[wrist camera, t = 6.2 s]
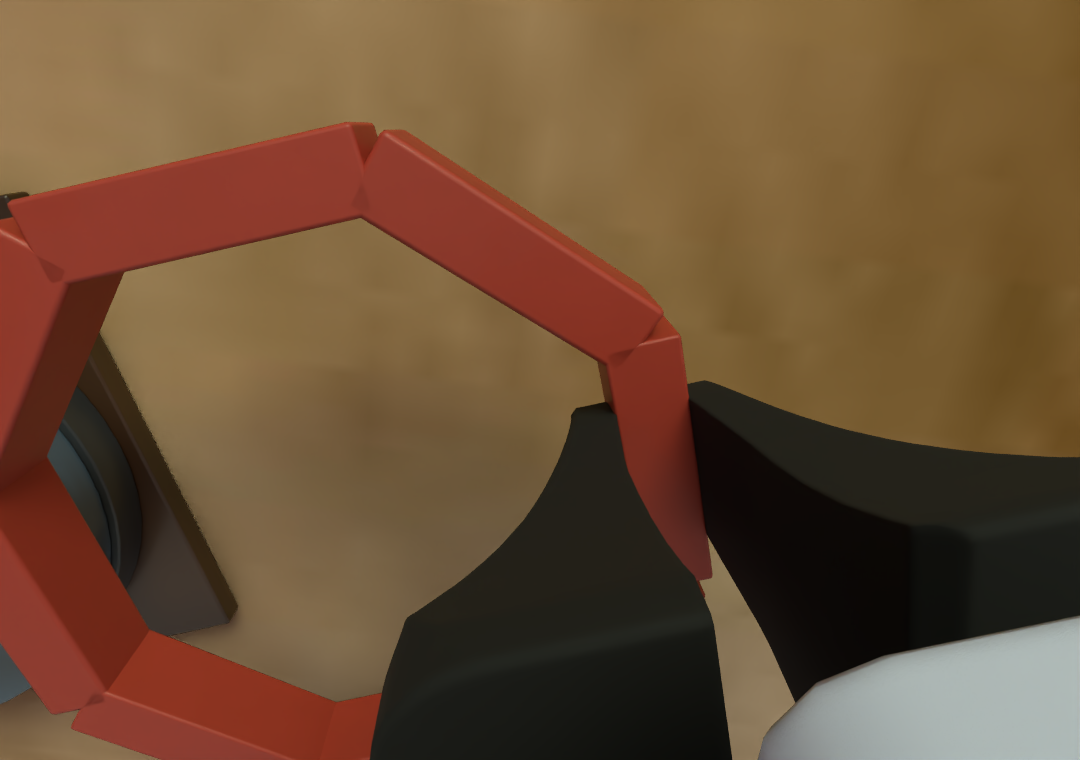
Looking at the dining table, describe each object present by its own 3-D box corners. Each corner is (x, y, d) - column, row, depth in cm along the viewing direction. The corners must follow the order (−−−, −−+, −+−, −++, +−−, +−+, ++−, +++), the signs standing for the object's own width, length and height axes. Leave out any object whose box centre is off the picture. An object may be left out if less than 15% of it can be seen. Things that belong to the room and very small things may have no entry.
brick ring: (709, 664, 14) (733, 728, 13) (180, 774, 14) (144, 847, 13) (621, 63, 9) (644, 52, 8) (-158, 245, 10) (-276, 265, 8)
